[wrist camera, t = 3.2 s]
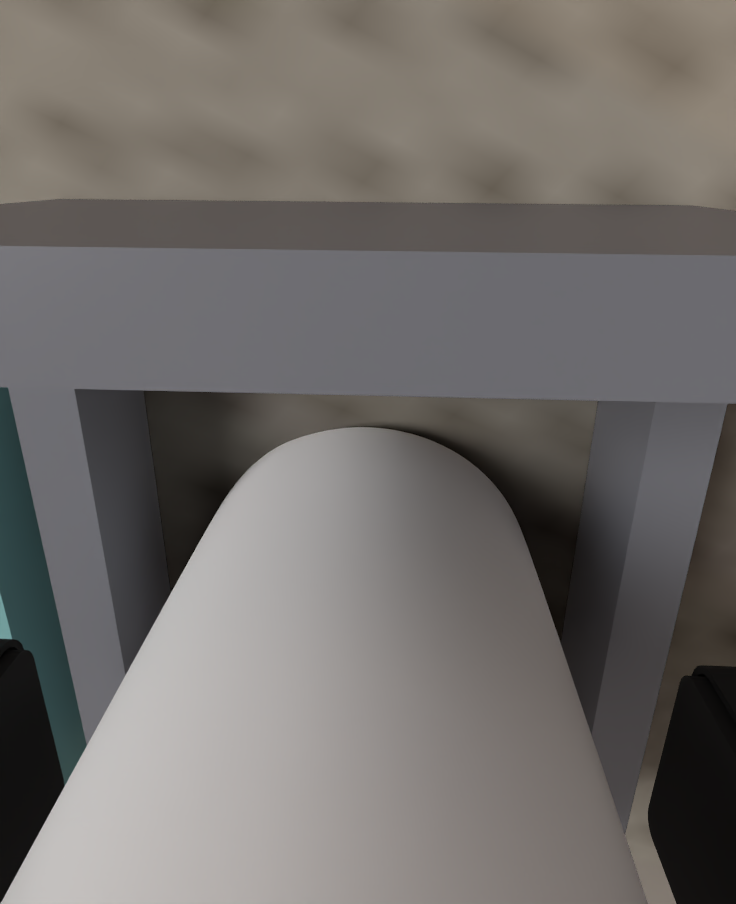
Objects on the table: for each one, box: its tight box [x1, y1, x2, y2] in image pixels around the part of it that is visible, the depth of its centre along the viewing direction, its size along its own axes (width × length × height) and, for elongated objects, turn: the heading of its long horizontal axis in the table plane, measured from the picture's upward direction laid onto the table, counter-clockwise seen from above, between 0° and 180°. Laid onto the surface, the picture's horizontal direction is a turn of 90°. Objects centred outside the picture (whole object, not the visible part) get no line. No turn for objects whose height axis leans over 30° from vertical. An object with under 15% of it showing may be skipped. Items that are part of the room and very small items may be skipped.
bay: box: [0, 199, 736, 834], centre depth 10 cm, size 10×12×7 cm
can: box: [1, 427, 648, 904], centre depth 8 cm, size 6×6×12 cm
